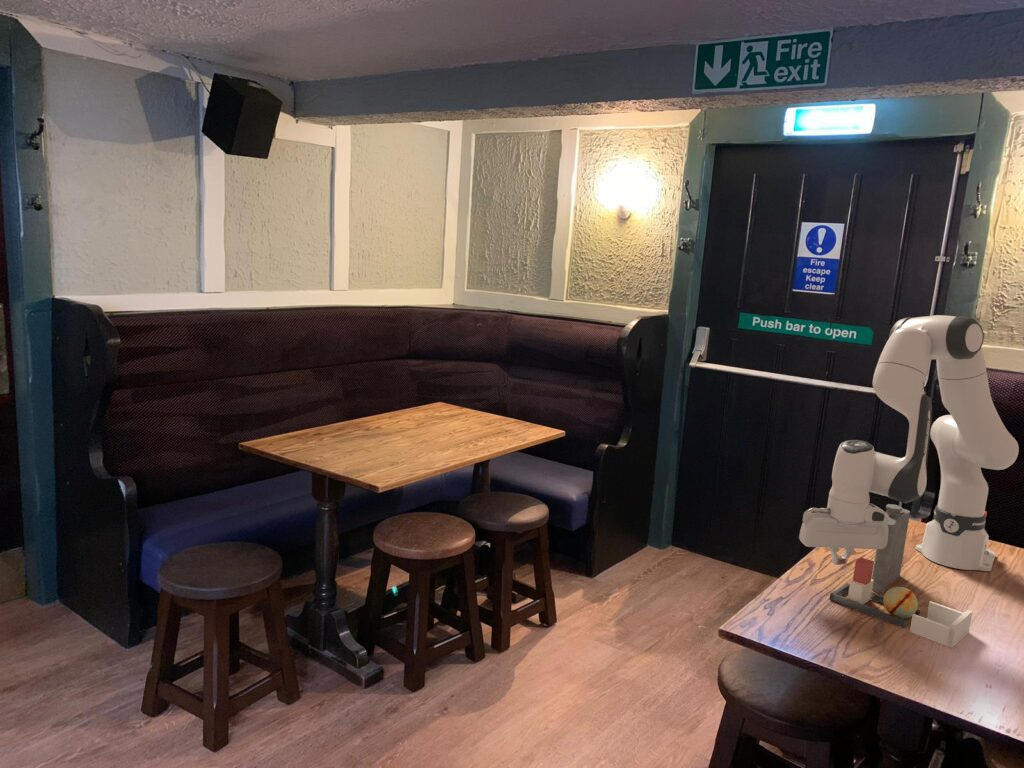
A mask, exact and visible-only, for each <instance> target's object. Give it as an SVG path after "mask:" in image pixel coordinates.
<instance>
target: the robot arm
mask: <svg viewBox="0 0 1024 768" xmlns="http://www.w3.org/2000/svg"><path fill="white" fill-rule="evenodd" d="M984 335H985V334H984V330H983V328H982V326H981V324H980V323H979V322H978V320H976V319H975V318H973V317H970V316H965V315H958V316H954V315H946V314H945V315H944V314H941V315H940V314H936V315H927V316H918V317H914V316H909V317H904V318H901V319H899V320H897V321H896V322H895V323H894V325H893V326H892V327H891V329H890V332H889V335H888V336H889V338H888V340H887V341H886V343H885V345H884V346H883V349H882V352H881V353H880V356H879V358H878V361H877V364H876V367H875V369H874V373H873V376H872V377H873V378H872V388H873V390H874V393H875V395H876V396H877V397H878V398H879V399H880V400H881V401H882V402H883V403H884V404H886V405H887V406H889V407H890V408H891V409H894V410H895V411H897V412H898V413H901V414H902V415H903V416H904V417H906V419H907V420H908V423H909V426H908V427H909V428H908V436H907V443H906V452H905V456H903V457H897V456H894V455H889V454H886V453H885V454H884V453H882V452H879V451H875V448H874V446H873V445H872V444H871V443H869V442H868V441H864V440H859V439H851V440H850V439H849V440H845V441H843V442H840V444H839V446H838V448H837V450H836V454H835V458H834V462H833V466H832V472H831V481H832V482H831V483H832V486H831V487H830V489H829V492H828V499H827V505H826V507H820V508H818V507H810V508H809V509H806V510H805V511H804V512H803V515H802V524H801V527H800V530H799V535H798V539H799V541H800V542H801V543H802V545H804V546H805V547H808V548H828V549H829V551H830V553H831V556H832V557H831V563H832V564H833V565H835V566H838V565H840V566H847V565H848V561H849V559H850V557H851V556H852V555H853V554H854V552H855V549H856V550H857V549H858V550H859V549H861V550H864V549H865V550H876V549H884V548H885V547H886V546H887V542H888V525H887V523H886V522H887V521H888V517H889V515H888V514H887V513H886V510H885V511H884V510H883V509H882V508H881V507H878V506H877V505H875V504H874V503H870V500H871V498H870V493H873V494H877V495H881V496H885V497H888V498H890V499H892V500H894V501H898V502H900V503H903V504H908V503H911V502H914V501H916V500H918V499H920V498H921V497H923V495H924V494H925V491H926V488H927V480H928V477H927V476H928V456H929V449H930V439H931V441H932V443H933V445H934V447H935V449H936V451H937V455H938V460H939V461H938V462H939V466H940V489H939V493H938V501H937V504H936V505H935V508H934V510H933V513H934V514H933V519H932V520H931V521H928V522H927V523H926V525H925V530H924V533H923V538H922V542H921V543H918V544H916V545H915V547H914V548H915V550H916V551H918V552H920V553H921V554H922V555H923V556H924V558H926V559H927V560H930V561H931V562H933V563H935V564H939V565H941V566H944V567H947V568H948V567H949V568H952V569H953V568H954V569H958V570H966V571H982V572H991V571H992V568H993V564H994V561H995V557H996V552H995V551H993V550H991V549H989V548H988V543H989V537H990V536H989V534H988V533H987V530H986V529H985V528H986V518H987V513H988V511H986V506H987V501H988V495H989V484H988V482H987V481H986V479H985V477H984V475H983V472H982V469H981V468H983V469H988V470H996V471H1000V470H1001V471H1002V470H1005V469H1008V468H1009V467H1010V466H1012V465H1013V464H1015V462H1016V460H1017V458H1018V455H1019V452H1020V450H1019V449H1020V447H1019V443H1018V441H1017V440H1016V439H1015V437H1013V435H1012V434H1011V433H1010V432H1009V431H1008V429H1007V428H1006V426H1005V424H1004V422H1003V421H1002V419H1001V417H1000V415H999V413H998V411H997V409H996V407H995V405H994V401H993V399H992V396H991V391H990V385H989V378H988V373H987V366H986V361H985V356H984V354H983V350H982V346H983V344H984V341H985V339H984ZM930 360H931V361H933V360H935V361H936V371H937V379H938V385H939V392H940V397H941V402H942V404H943V406H944V408H945V410H947V412H949V414H945V415H942V416H939V417H938V418H936V419H935V421H933V423H932V419H933V405H932V400H931V398H930V397H929V396H928V395H927V394H926V393H925V390H924V389H925V387H924V383H925V379H926V375H927V373H928V368H929V363H930ZM840 549H844V551H843V553H842V555H838V553H839V551H840ZM837 552H838V553H837Z"/></svg>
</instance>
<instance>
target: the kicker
mask: <svg viewBox="0 0 1024 768" xmlns="http://www.w3.org/2000/svg"><path fill="white" fill-rule="evenodd" d="M874 562H875V560H874V561H873V560H871V559H868V558H864V557H862V556H860V557H859V558H858V559H856V560H855V562H854V563H855V564H854V570H853V576H852V577H853V578H852V580H850V582H849V584H850V586H849V591H847V593H848V594H847V598H848V599H850V600H853V601H856V602H858V603H861V604H863V605H866V603H868V602H869V601H870V600H871V594H872V592H873V591H872V587H873V581H874V580H873V579H872V575H873V568H874Z"/></svg>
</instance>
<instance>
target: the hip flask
mask: <svg viewBox="0 0 1024 768" xmlns="http://www.w3.org/2000/svg"><path fill="white" fill-rule="evenodd" d="M885 509H886V510H885V512H886V513H887V514H888V515H889V517H888V521H887V522H886V523H887V525H888V542H887V546H886V547H885V548H884V549H875V550H876V551H875V556H874V565H873V572H872V578H871V579H873V580H874V581H873V587H872V590H873V591H872V592H874V591H875V592H874V593H878V592H880V593H879V594H881V593H883V594H884V593H886V592H885V591H886V589H887V587H888V586H889V584H890V583H892V582H893V581H895V580H897V579H899V578H900V577H901V571H902V566H903V558H904V553H905V552H904V551H905V547H906V541H907V534H908V529H909V522H910V517H911V516H910V515H911V511H910V510H908V509H906V508H903V507H902V506H901V505H897V504H891V503H888V504H886V505H885Z"/></svg>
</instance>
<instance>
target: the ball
mask: <svg viewBox="0 0 1024 768" xmlns="http://www.w3.org/2000/svg"><path fill="white" fill-rule="evenodd" d="M883 596H884V599H883V603H884V604H883V607H884V609H885V610H886V612H887V614H890V615H893V616H895V617H898V618H901V619H903V620H906V619H908V618H912V615H913V614H915V612H916V610H917V609H919V608H918V607H919V602H918V599H917V597H916V595H915V593H913V591H912V590H910V589H908V588H906V587H904V586H894V587H891V588H889V589H888V590H887V591H886V592H884V595H883Z"/></svg>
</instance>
